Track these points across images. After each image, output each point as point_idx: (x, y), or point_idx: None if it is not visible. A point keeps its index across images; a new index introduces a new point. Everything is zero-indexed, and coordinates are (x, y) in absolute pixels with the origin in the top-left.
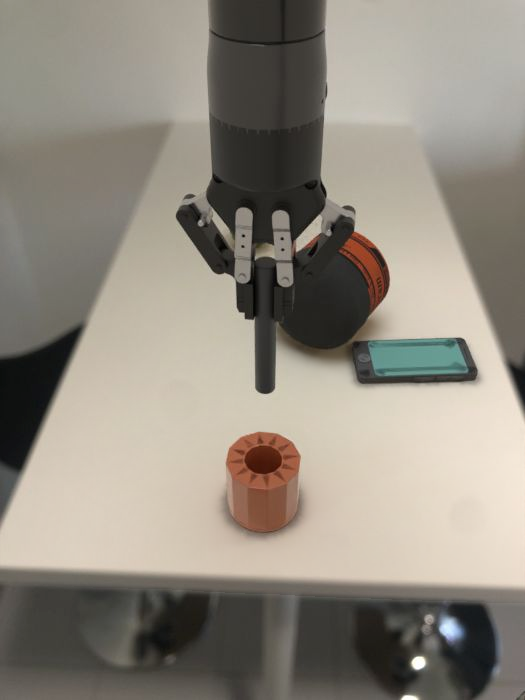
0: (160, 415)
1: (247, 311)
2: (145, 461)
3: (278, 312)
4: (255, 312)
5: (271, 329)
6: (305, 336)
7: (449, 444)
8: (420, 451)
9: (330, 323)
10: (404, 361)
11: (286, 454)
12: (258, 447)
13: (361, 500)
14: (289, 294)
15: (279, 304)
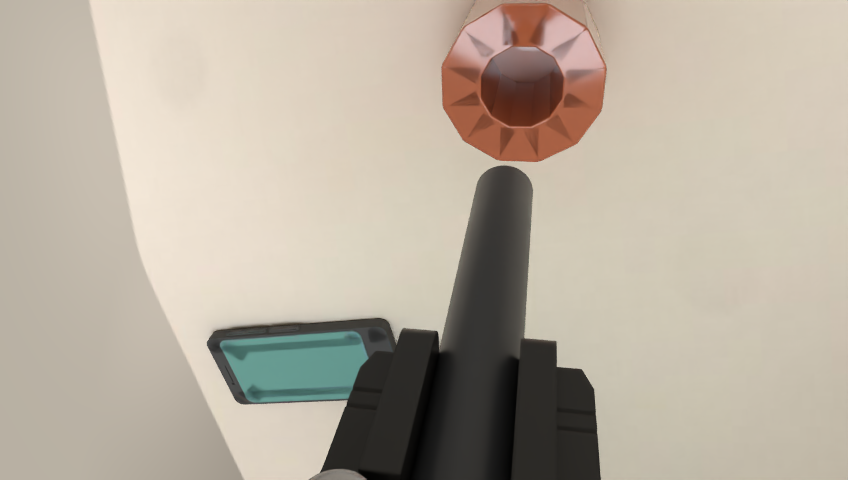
0: (754, 231)
1: (543, 368)
2: (783, 117)
3: (409, 362)
4: (513, 371)
5: (455, 312)
6: None
7: (229, 208)
8: (270, 190)
9: None
10: (317, 359)
11: (472, 106)
12: (536, 121)
13: (349, 77)
14: (348, 436)
15: (397, 392)
